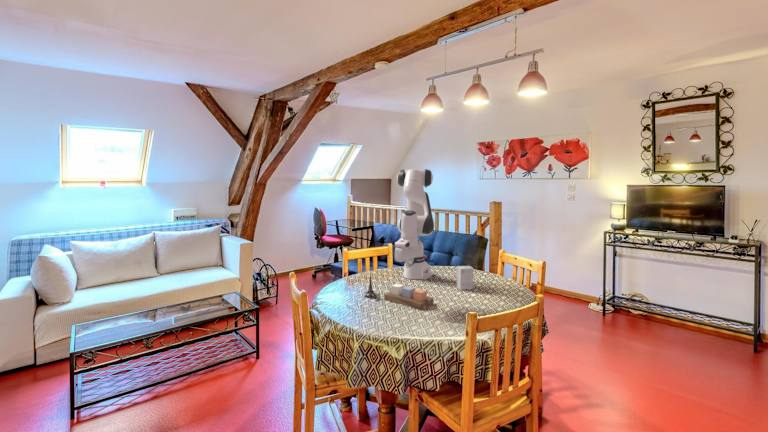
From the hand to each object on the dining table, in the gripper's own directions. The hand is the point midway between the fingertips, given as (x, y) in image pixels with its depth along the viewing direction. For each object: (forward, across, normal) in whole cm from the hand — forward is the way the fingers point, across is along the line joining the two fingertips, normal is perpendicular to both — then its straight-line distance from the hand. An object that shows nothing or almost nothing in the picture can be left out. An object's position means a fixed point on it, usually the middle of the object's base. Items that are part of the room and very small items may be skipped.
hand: (408, 267), depth 213 cm
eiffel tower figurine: (+20, +7, -20) cm, 29 cm away
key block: (+19, 0, 0) cm, 19 cm away
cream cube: (+17, 0, -7) cm, 18 cm away
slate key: (+17, 0, 0) cm, 17 cm away
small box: (+19, -41, +11) cm, 47 cm away
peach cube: (+17, 0, +7) cm, 18 cm away
